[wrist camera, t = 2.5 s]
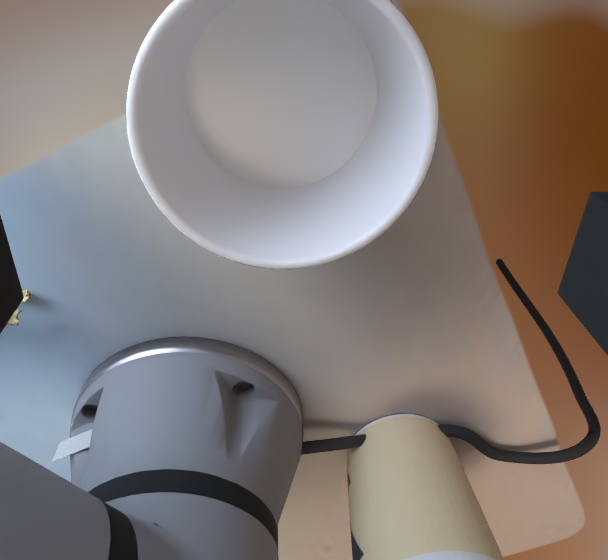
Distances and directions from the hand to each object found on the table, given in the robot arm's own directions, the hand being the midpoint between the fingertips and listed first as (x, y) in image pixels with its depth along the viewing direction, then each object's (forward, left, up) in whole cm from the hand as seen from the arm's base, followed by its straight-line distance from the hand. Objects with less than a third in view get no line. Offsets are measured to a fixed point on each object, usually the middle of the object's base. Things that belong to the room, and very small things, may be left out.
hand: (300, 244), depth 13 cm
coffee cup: (-4, +28, -17) cm, 32 cm away
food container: (0, +1, -17) cm, 17 cm away
